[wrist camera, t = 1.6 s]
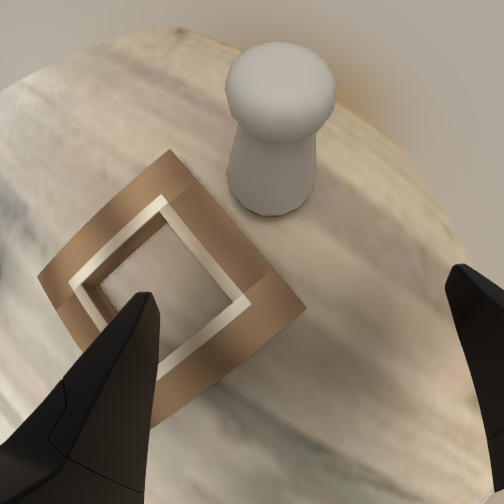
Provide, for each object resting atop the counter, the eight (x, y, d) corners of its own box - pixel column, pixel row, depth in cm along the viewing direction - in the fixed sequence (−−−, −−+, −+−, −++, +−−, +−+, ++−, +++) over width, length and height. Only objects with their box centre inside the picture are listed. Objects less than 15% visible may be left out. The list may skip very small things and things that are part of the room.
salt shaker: (229, 223, 22) (193, 138, 9) (230, 150, 23) (204, 23, 10) (311, 222, 22) (374, 140, 9) (306, 150, 23) (347, 26, 10)
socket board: (156, 419, 21) (145, 433, 18) (54, 278, 22) (35, 276, 19) (301, 305, 21) (307, 308, 19) (178, 162, 23) (169, 147, 20)
